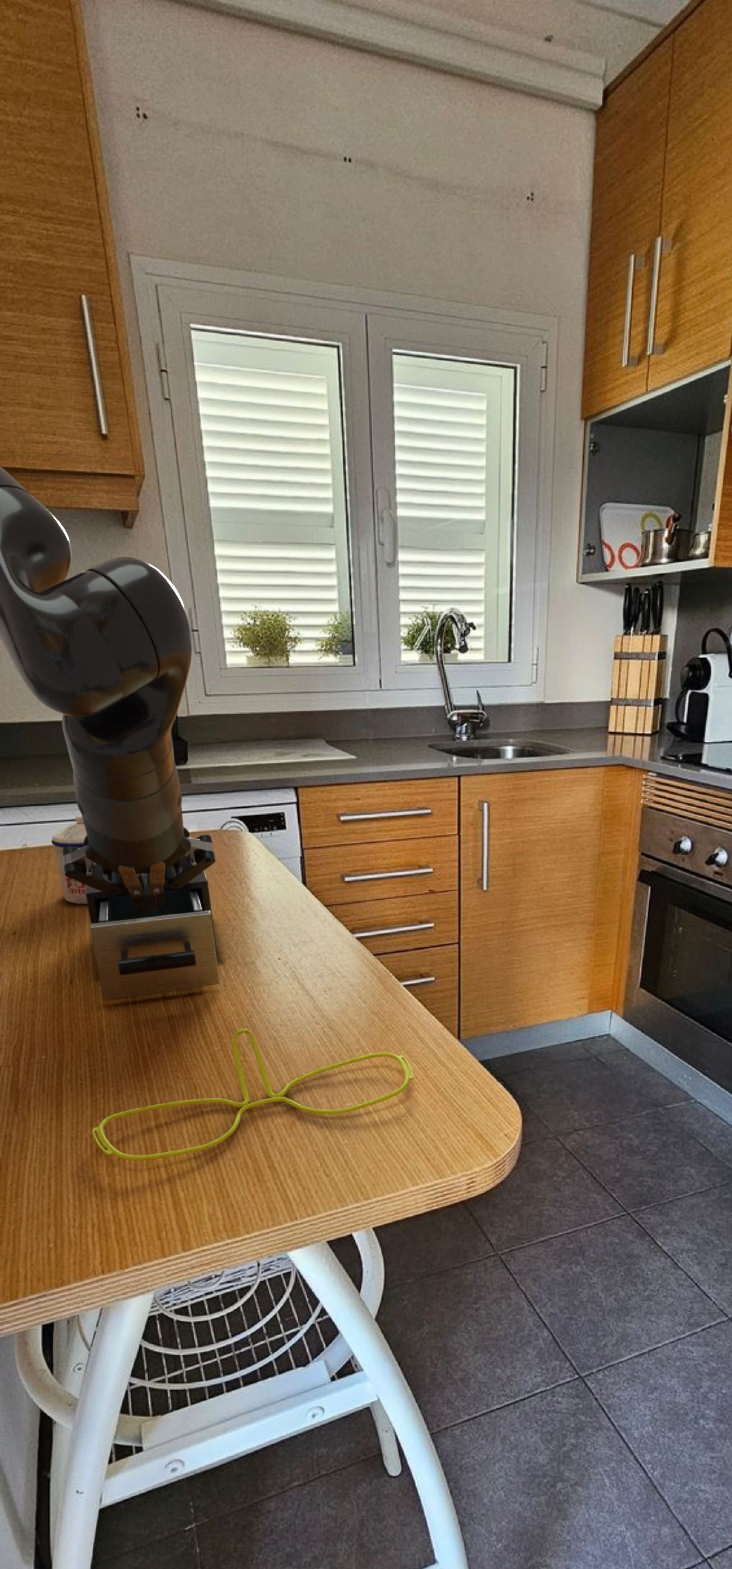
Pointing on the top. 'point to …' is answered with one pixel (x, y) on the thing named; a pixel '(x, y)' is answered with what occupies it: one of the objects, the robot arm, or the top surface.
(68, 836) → the teacup with lid
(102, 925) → the silver drawer with handle
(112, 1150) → the glasses
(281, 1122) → the top surface
